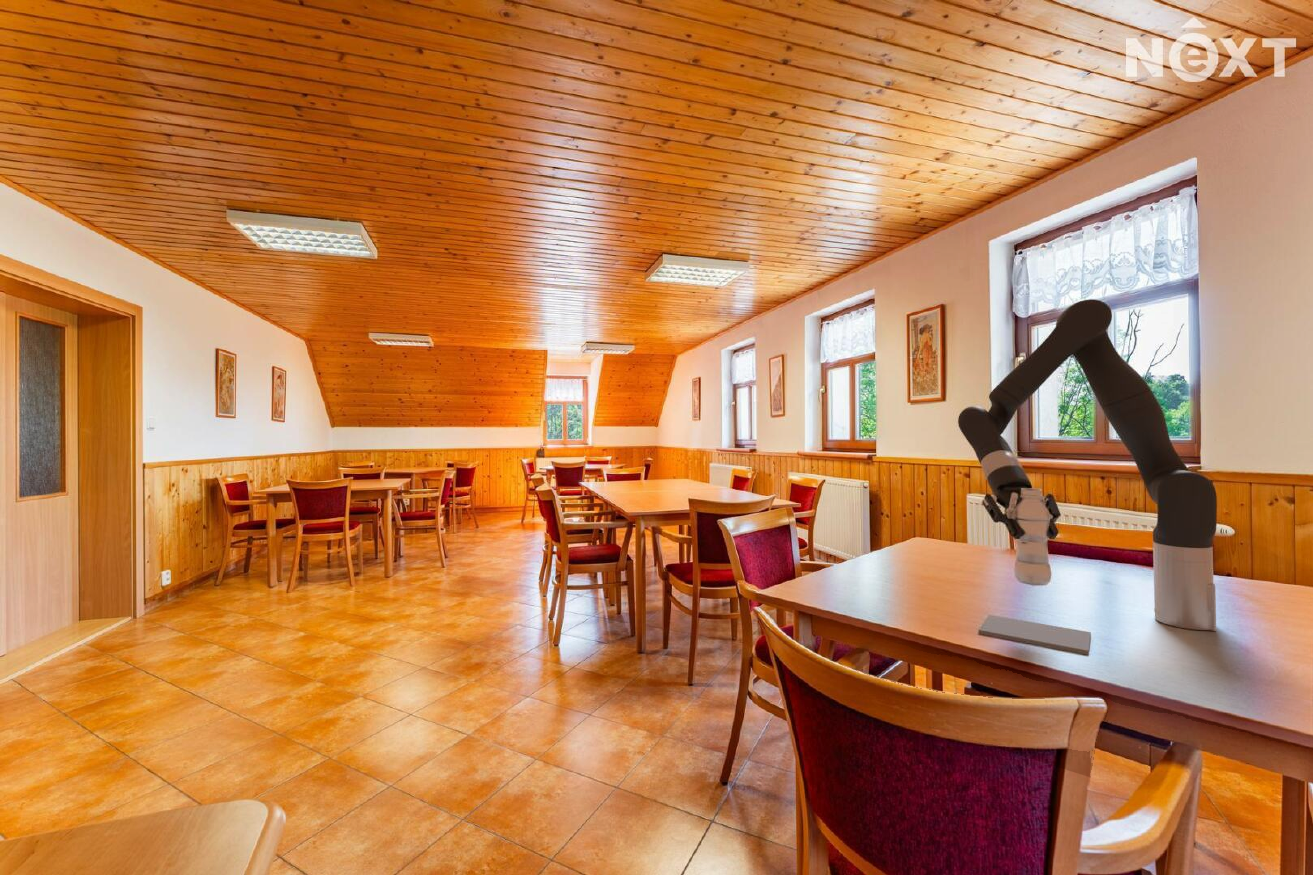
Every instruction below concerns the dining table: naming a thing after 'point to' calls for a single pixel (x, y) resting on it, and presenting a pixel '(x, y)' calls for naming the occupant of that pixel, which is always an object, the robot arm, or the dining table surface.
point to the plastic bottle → (1032, 539)
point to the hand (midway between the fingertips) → (1036, 536)
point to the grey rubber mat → (1037, 634)
